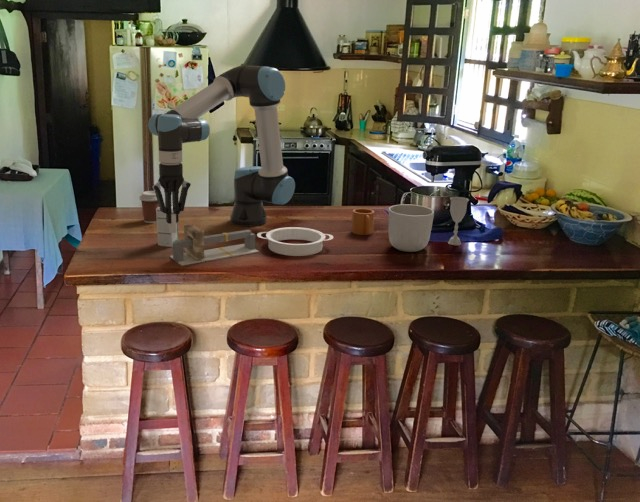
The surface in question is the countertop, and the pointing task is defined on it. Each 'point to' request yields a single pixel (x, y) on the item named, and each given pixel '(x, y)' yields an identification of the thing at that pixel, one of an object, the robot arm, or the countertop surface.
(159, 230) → the syrup box
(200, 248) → the tan flat block
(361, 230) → the mug
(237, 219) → the robot arm
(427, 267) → the countertop surface
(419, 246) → the planter
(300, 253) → the pot
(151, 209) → the coffee cup
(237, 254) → the rail
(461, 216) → the chalice
